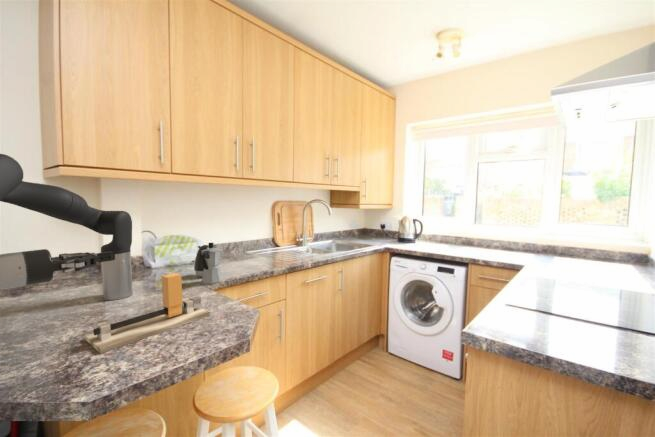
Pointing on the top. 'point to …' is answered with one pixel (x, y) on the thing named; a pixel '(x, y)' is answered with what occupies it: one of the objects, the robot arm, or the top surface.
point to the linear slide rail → (143, 326)
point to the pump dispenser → (199, 261)
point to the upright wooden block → (172, 294)
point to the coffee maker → (211, 265)
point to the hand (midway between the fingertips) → (113, 255)
